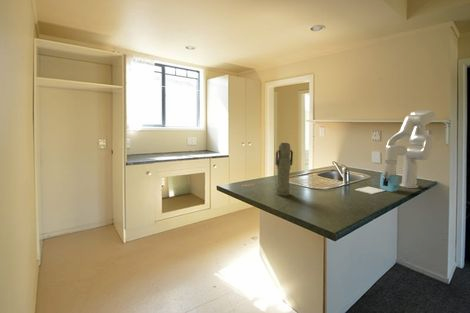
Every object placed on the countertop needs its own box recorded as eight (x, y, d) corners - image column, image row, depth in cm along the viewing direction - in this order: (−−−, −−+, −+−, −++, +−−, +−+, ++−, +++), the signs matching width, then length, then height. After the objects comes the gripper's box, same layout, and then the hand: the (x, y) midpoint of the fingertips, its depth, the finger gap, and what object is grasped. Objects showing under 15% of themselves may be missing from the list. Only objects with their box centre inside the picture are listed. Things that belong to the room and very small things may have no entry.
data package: (397, 192, 196) (399, 175, 195) (392, 192, 195) (394, 176, 193) (384, 188, 208) (385, 172, 206) (379, 188, 206) (380, 172, 205)
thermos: (271, 193, 186) (273, 142, 182) (286, 191, 190) (288, 142, 186) (278, 196, 178) (280, 143, 173) (293, 195, 182) (296, 143, 178)
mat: (368, 187, 209) (368, 186, 209) (385, 191, 198) (385, 190, 198) (354, 190, 199) (354, 189, 199) (371, 194, 188) (371, 193, 188)
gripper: (391, 161, 206) (389, 182, 209) (379, 162, 197) (377, 185, 199) (402, 162, 200) (399, 184, 202) (390, 163, 191) (387, 187, 193)
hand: (388, 185), depth 201 cm, fingers open, 9 cm apart
